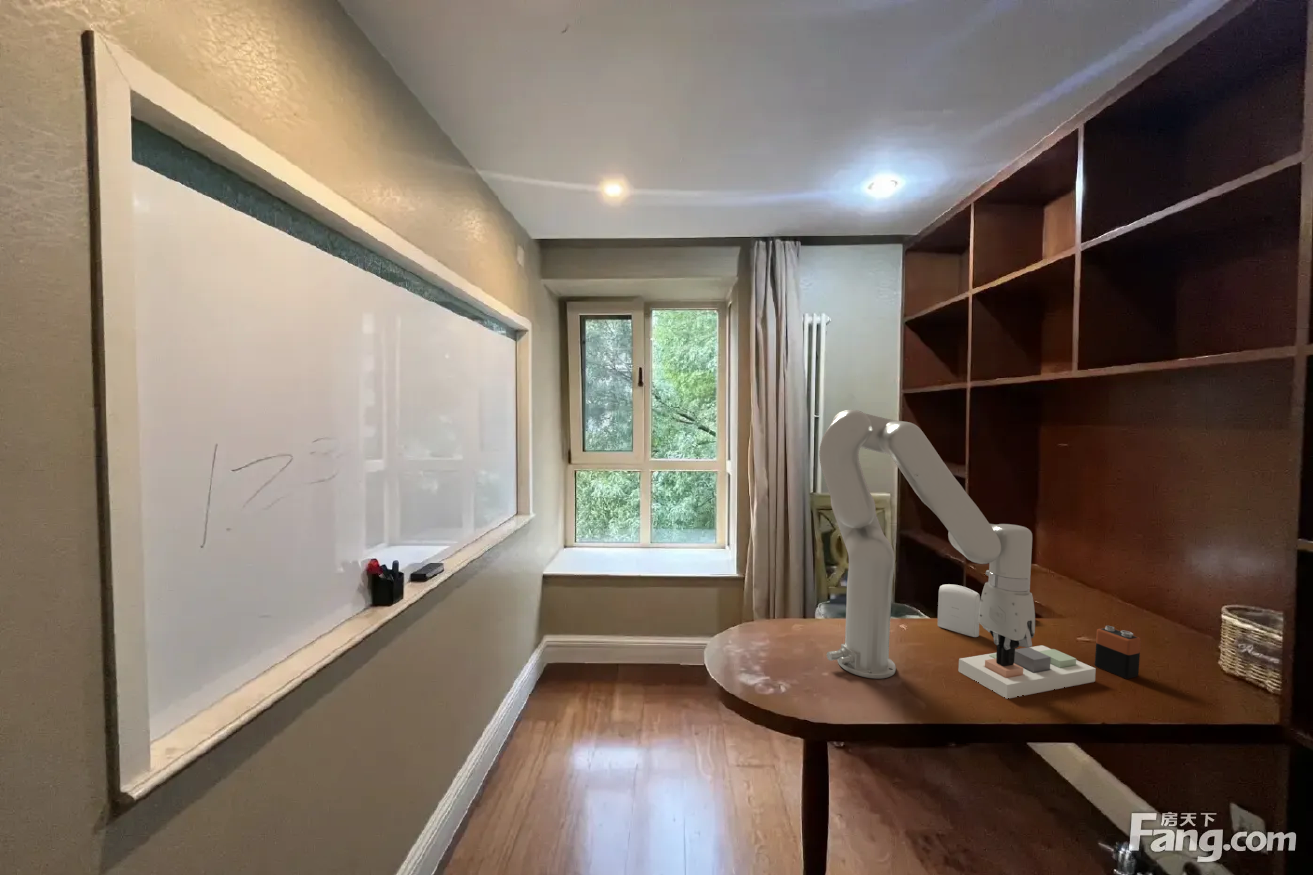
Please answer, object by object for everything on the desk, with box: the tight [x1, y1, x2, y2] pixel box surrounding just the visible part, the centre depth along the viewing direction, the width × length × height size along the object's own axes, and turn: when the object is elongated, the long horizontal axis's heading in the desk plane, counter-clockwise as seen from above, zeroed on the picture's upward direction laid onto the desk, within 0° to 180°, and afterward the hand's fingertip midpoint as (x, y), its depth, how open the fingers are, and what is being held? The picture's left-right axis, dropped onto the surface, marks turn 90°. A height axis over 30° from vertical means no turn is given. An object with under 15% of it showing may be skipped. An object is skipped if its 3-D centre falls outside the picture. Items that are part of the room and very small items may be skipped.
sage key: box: [1038, 648, 1077, 668], centre depth 122 cm, size 5×5×3 cm
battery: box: [1094, 625, 1142, 680], centre depth 123 cm, size 4×7×10 cm, turn 20°
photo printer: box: [937, 583, 981, 638], centre depth 145 cm, size 10×4×12 cm, turn 39°
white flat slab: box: [958, 645, 1097, 699], centre depth 120 cm, size 26×12×3 cm, turn 107°
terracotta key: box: [985, 659, 1023, 678], centre depth 117 cm, size 5×5×3 cm
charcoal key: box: [1014, 647, 1051, 673], centre depth 119 cm, size 5×5×3 cm
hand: (1005, 663), depth 117 cm, fingers closed
